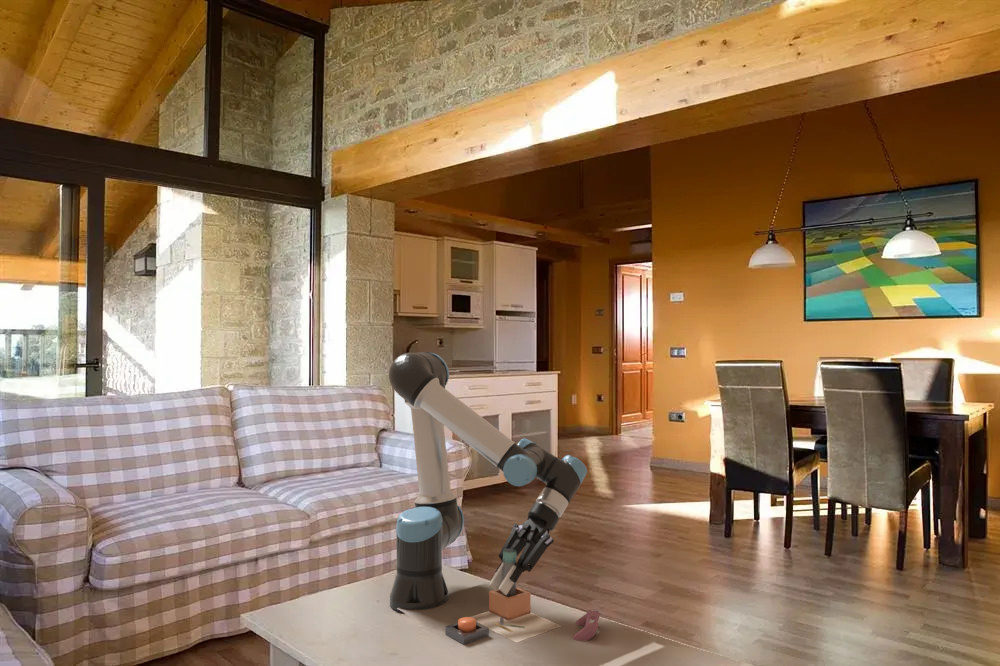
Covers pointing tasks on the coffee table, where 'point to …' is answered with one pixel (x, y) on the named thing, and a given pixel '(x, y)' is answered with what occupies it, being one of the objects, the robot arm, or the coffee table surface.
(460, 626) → the button
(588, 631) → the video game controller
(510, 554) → the marker
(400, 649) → the coffee table surface
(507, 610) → the pen cup
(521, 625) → the board
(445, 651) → the coffee table surface
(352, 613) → the coffee table surface
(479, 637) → the button housing
